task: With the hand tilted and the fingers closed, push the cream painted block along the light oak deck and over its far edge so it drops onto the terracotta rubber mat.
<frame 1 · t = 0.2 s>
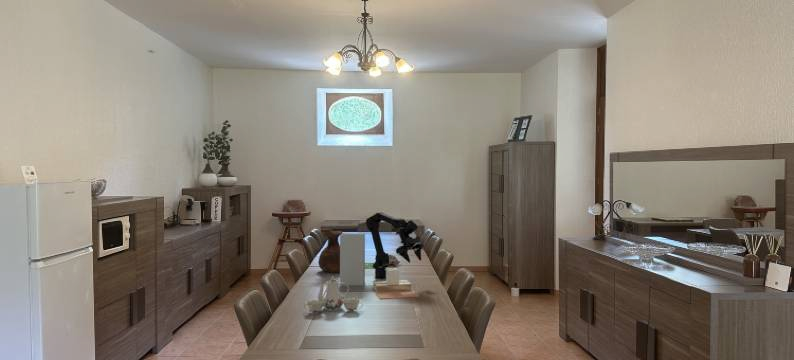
hand: (415, 261, 299), 15 cm above the table, tool tilted 35°, fingers open, 9 cm apart
tall white box: (352, 284, 305), on the table
mat: (397, 294, 278), on the table
deck: (392, 289, 291), on the table
chinaware: (333, 310, 249), on the table
decorative card: (380, 266, 360), on the table
block: (392, 283, 289), point 4 cm above the table, touching deck
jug: (333, 271, 340), on the table
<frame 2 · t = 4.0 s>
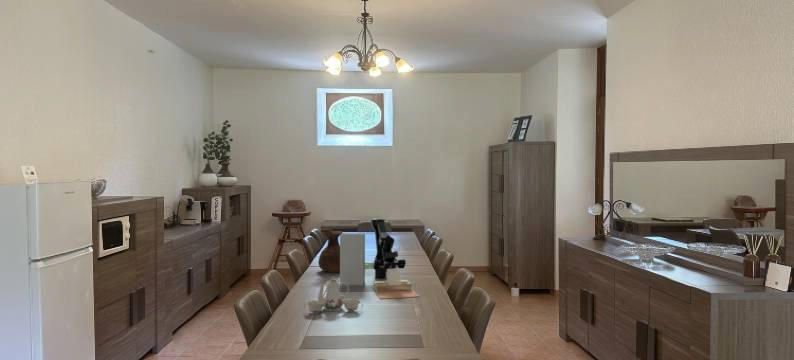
hand: (391, 276, 291), 7 cm above the table, tool tilted 45°, fingers closed, pressing on block
block: (393, 283, 288), point 4 cm above the table, touching gripper
everything else where it was.
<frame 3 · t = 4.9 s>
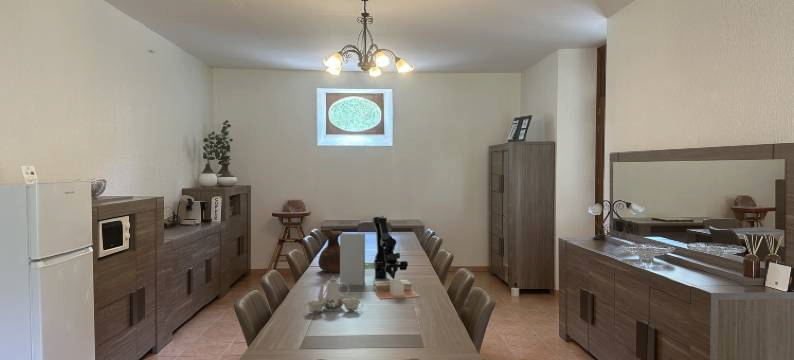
hand: (393, 278, 287), 7 cm above the table, tool tilted 45°, fingers closed
block: (395, 285, 283), point 4 cm above the table, tilted 90°, touching mat
everything else where it was.
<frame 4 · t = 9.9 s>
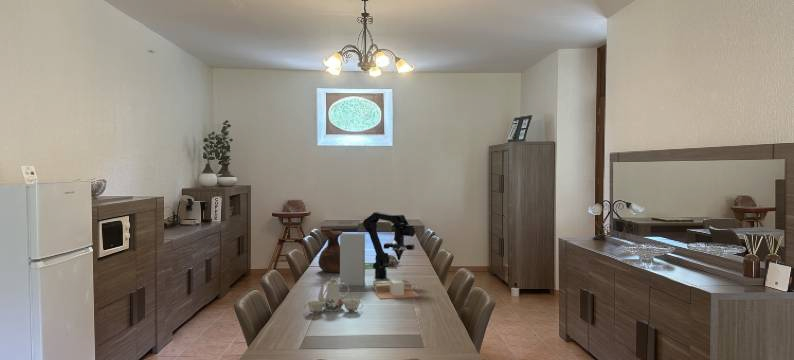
hand: (399, 260, 312), 13 cm above the table, tool pointing down, fingers closed
nothing on the table moved.
at the end: block touching mat; block 5.2 cm from the mat (horizontally); block point 3.9 cm above the table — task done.
